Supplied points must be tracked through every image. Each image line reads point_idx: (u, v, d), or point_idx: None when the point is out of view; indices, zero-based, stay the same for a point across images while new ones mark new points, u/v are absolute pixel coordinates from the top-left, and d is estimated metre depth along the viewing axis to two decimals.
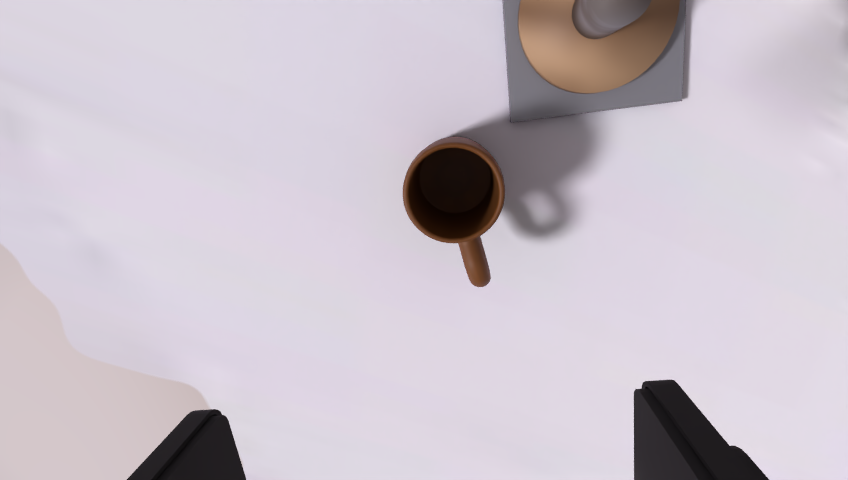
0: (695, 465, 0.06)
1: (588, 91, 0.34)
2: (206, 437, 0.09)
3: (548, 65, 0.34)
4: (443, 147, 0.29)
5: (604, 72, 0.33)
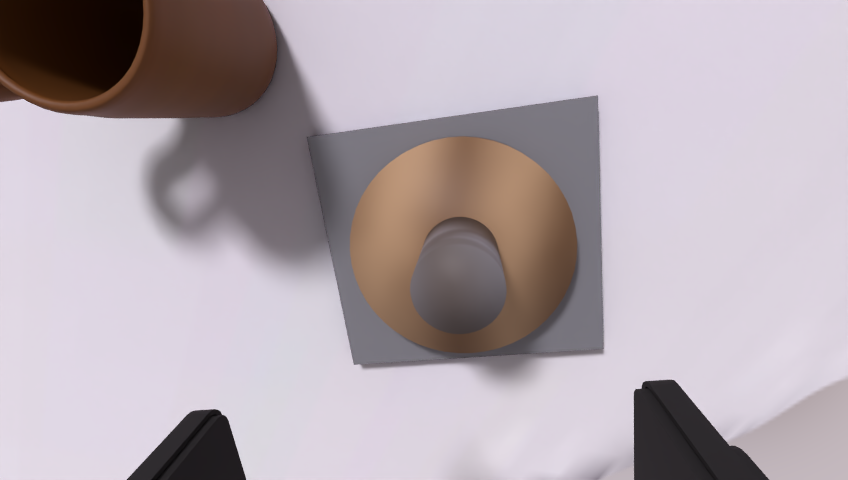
0: (695, 465, 0.06)
1: (352, 249, 0.23)
2: (206, 437, 0.09)
3: (386, 188, 0.21)
4: None
5: (378, 268, 0.23)
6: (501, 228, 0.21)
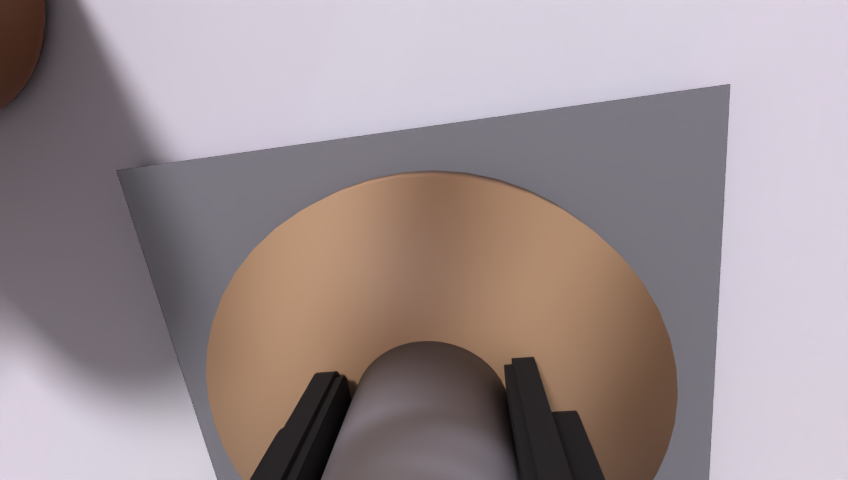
0: (519, 421, 0.08)
1: (212, 396, 0.11)
2: (337, 393, 0.10)
3: (271, 282, 0.10)
4: None
5: (268, 433, 0.11)
6: None
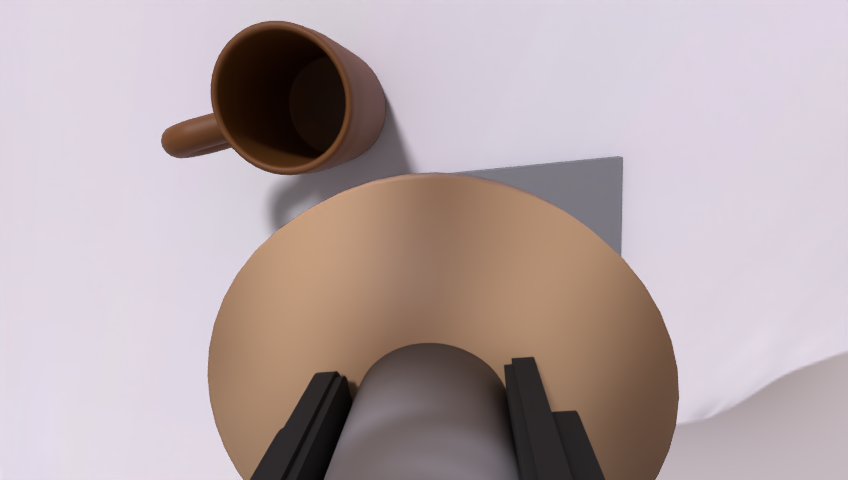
0: (519, 421, 0.08)
1: (214, 398, 0.11)
2: (337, 393, 0.10)
3: (273, 284, 0.10)
4: (344, 86, 0.20)
5: (270, 435, 0.11)
6: None
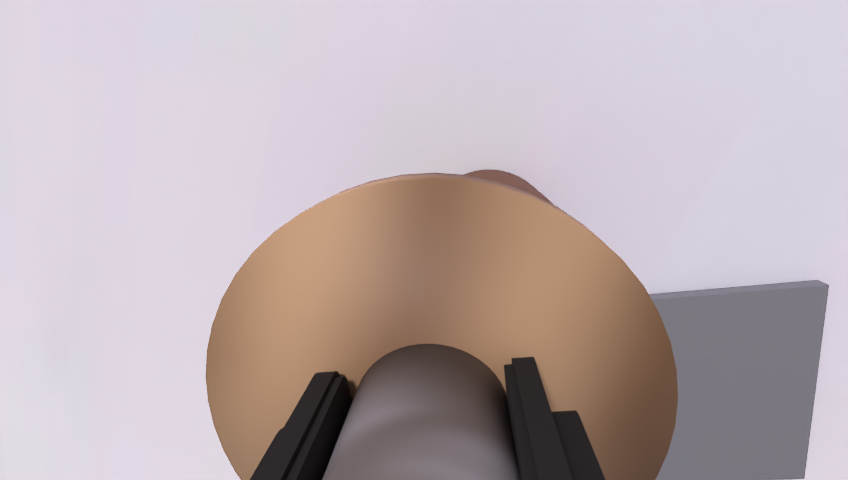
0: (519, 421, 0.08)
1: (212, 399, 0.11)
2: (337, 393, 0.10)
3: (271, 284, 0.10)
4: None
5: (268, 436, 0.11)
6: None
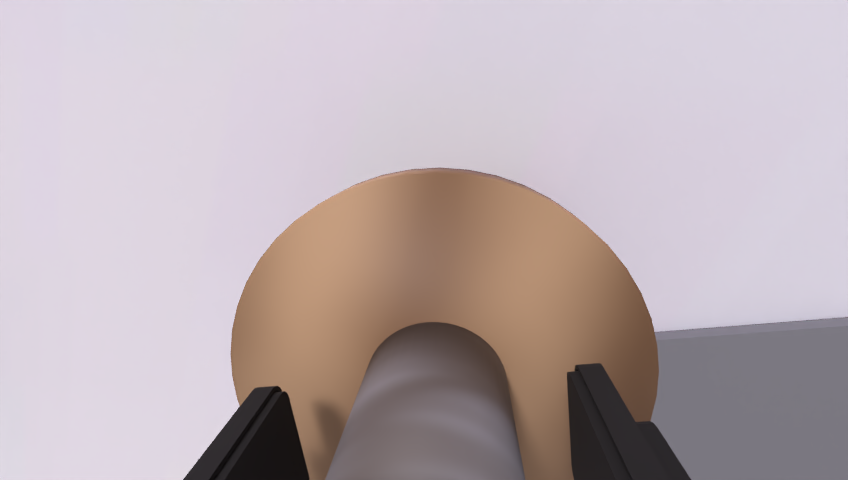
0: (601, 434, 0.07)
1: (236, 374, 0.12)
2: (273, 410, 0.09)
3: (291, 269, 0.11)
4: None
5: None
6: (512, 344, 0.11)
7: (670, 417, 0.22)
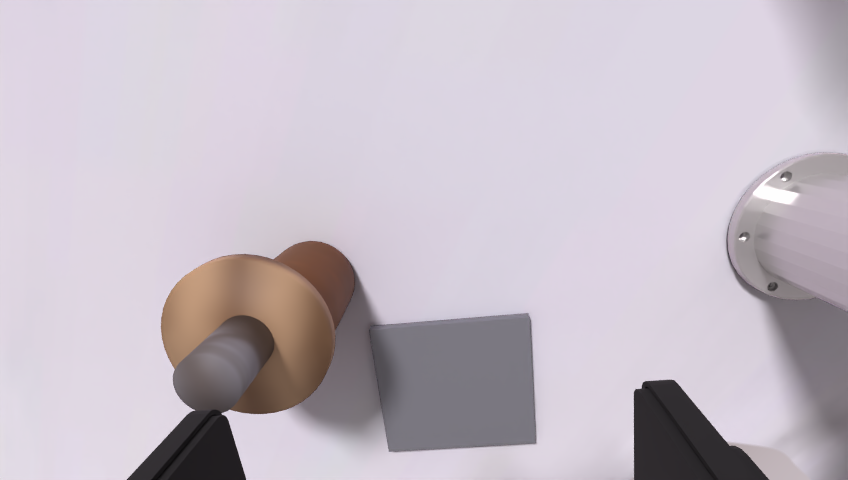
0: (695, 465, 0.06)
1: (163, 337, 0.29)
2: (206, 437, 0.09)
3: (184, 294, 0.28)
4: None
5: (185, 351, 0.29)
6: (273, 324, 0.29)
7: (422, 370, 0.40)
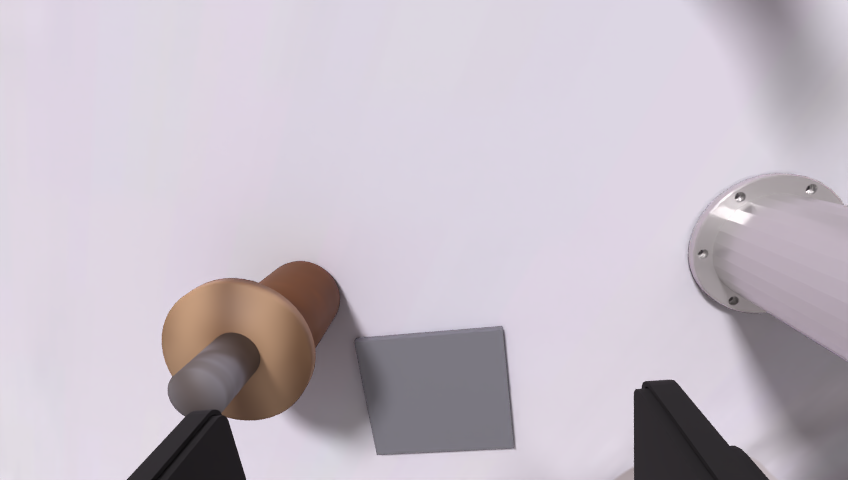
0: (695, 465, 0.06)
1: (164, 351, 0.33)
2: (206, 437, 0.09)
3: (180, 314, 0.32)
4: None
5: (183, 364, 0.33)
6: (258, 340, 0.32)
7: (404, 379, 0.43)
